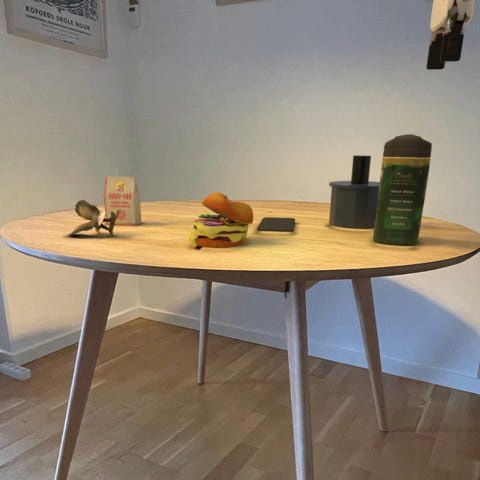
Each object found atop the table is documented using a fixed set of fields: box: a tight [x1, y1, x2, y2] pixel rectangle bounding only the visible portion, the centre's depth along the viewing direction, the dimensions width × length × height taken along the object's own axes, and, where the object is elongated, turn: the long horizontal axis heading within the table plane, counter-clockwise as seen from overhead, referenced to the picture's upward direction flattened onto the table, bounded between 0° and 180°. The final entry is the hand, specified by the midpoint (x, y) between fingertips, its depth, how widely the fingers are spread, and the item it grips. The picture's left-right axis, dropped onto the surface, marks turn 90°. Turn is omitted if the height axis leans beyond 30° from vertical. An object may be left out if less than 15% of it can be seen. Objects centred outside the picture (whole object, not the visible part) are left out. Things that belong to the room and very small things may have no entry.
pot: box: [328, 187, 379, 230], centre depth 100 cm, size 12×12×8 cm
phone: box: [256, 216, 296, 233], centre depth 100 cm, size 7×1×15 cm
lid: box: [328, 154, 380, 189], centre depth 98 cm, size 13×13×7 cm
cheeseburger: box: [188, 191, 254, 248], centre depth 82 cm, size 10×11×10 cm
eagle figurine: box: [67, 199, 120, 237], centre depth 90 cm, size 8×7×9 cm
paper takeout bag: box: [103, 175, 143, 226], centre depth 102 cm, size 4×7×10 cm, turn 80°
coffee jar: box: [372, 133, 433, 247], centre depth 82 cm, size 10×8×19 cm
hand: (442, 65), depth 85 cm, fingers open, 9 cm apart
